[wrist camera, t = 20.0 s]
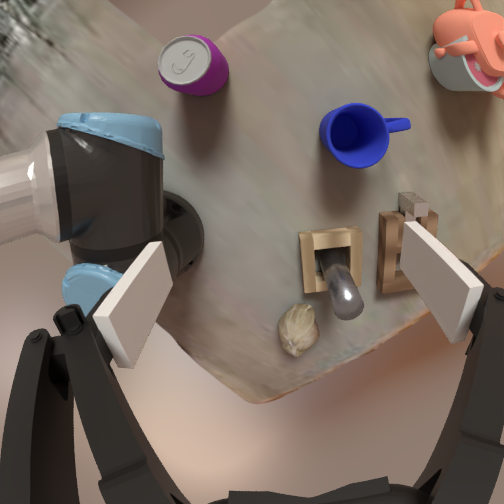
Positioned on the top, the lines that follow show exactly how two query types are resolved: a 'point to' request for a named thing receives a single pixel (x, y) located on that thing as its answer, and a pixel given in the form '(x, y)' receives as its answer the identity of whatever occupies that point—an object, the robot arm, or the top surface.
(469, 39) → the teapot
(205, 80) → the beverage can
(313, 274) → the frame
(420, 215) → the drift key
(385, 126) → the mug
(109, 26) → the top surface
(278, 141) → the top surface
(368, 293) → the top surface
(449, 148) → the top surface
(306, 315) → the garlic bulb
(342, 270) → the peg
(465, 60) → the mug
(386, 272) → the socket block
